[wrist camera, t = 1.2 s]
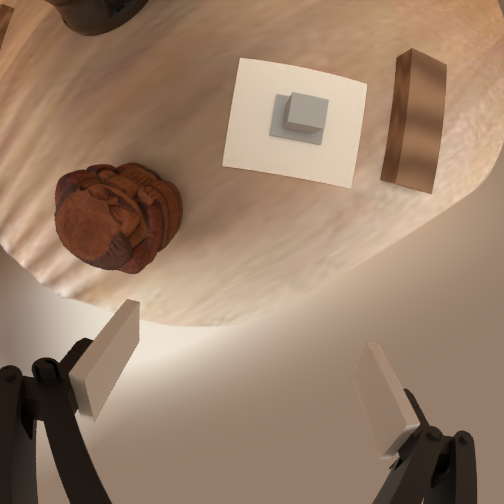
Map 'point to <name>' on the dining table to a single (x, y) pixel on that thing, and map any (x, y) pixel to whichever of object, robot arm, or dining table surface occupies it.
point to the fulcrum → (295, 122)
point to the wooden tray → (4, 19)
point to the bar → (415, 121)
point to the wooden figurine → (116, 215)
